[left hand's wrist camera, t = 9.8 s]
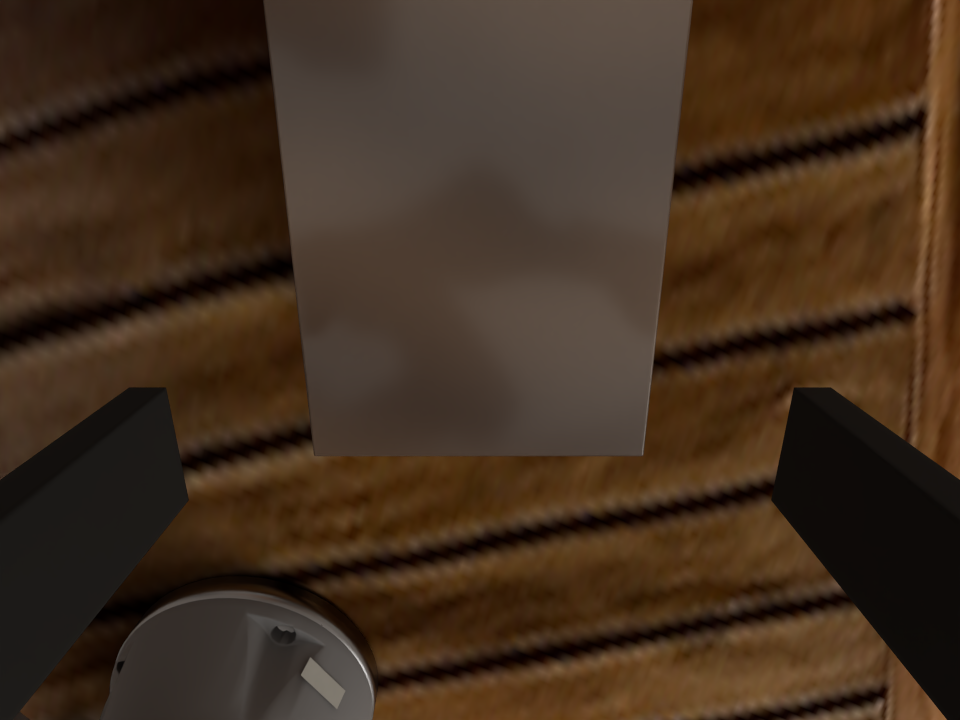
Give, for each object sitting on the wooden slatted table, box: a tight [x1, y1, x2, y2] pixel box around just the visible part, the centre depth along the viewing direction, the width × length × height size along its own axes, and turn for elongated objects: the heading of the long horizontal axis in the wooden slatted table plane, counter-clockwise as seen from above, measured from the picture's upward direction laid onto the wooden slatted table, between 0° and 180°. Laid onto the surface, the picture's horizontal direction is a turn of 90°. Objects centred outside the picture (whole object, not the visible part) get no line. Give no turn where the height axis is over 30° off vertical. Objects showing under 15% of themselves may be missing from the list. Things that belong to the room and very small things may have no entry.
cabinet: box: [263, 0, 693, 456], centre depth 21 cm, size 21×11×11 cm, turn 0°
